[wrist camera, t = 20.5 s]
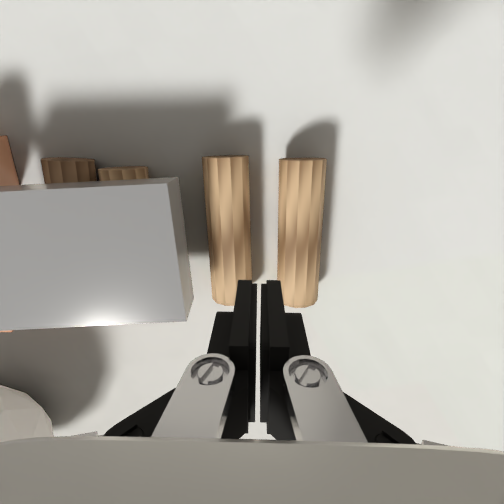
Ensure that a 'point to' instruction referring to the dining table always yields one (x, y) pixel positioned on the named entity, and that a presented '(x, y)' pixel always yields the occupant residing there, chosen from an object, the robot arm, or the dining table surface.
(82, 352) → the dining table surface
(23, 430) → the white faceted ball
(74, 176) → the roller
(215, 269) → the roller
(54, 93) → the dining table surface
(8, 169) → the block
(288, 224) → the roller
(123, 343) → the dining table surface
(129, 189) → the grey slab
